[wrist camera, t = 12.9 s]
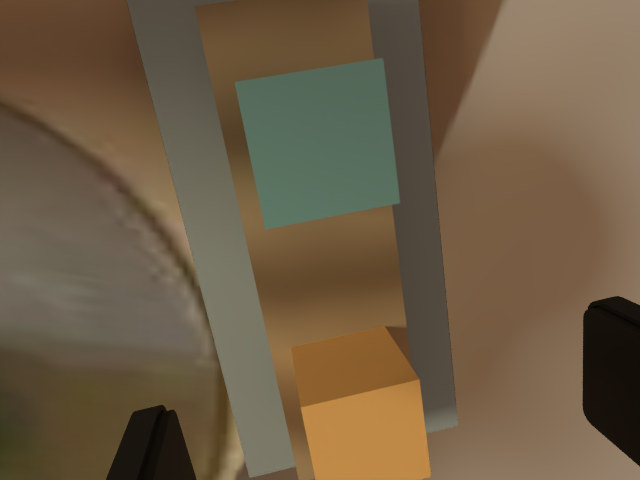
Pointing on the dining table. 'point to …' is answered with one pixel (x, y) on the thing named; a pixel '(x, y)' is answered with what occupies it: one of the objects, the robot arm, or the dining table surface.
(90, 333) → the dining table surface
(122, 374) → the dining table surface
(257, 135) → the teal cube
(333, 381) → the orange cube
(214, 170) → the dock
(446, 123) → the dining table surface
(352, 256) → the brown wooden block
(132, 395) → the dining table surface
